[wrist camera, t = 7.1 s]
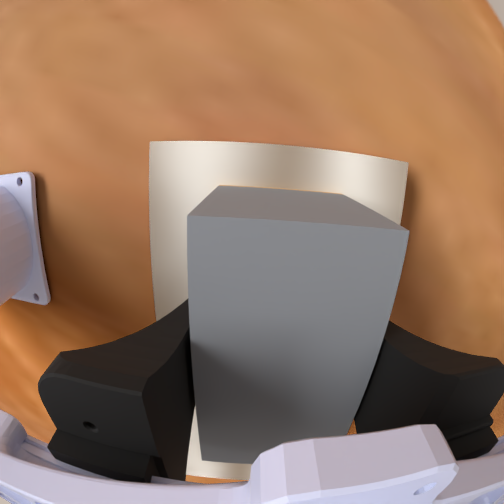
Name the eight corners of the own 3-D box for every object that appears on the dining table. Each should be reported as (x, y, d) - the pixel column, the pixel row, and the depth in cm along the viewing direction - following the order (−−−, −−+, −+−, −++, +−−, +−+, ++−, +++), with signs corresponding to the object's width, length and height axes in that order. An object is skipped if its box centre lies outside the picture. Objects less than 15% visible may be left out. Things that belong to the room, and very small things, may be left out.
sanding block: (216, 365, 15) (201, 460, 9) (219, 184, 12) (187, 215, 6) (312, 368, 15) (333, 461, 9) (341, 193, 12) (409, 230, 6)
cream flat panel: (185, 463, 20) (183, 474, 19) (158, 142, 12) (149, 141, 11) (315, 467, 20) (317, 478, 19) (396, 161, 13) (408, 162, 11)
